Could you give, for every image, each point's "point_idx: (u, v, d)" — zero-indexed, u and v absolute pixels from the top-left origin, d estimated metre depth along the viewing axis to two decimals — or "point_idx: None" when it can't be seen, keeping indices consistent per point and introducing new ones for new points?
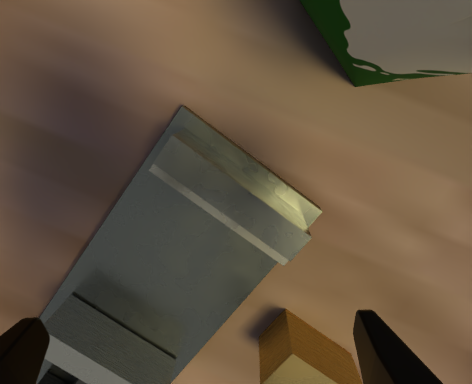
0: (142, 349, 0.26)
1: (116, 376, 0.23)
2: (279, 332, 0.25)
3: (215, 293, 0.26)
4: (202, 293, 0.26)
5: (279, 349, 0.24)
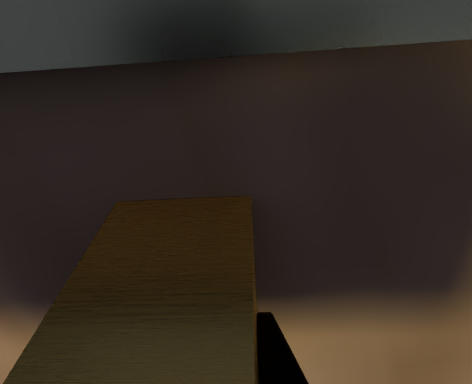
0: None
1: None
2: (204, 250, 0.07)
3: None
4: None
5: (183, 310, 0.06)
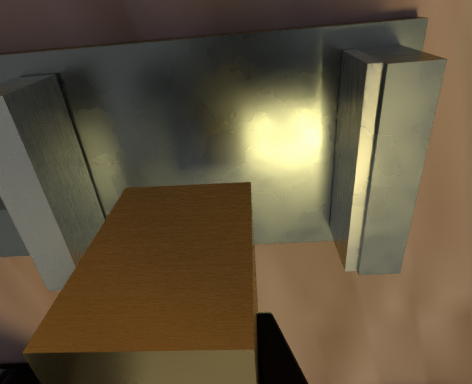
0: (91, 208, 0.19)
1: (56, 228, 0.15)
2: (208, 228, 0.07)
3: None
4: None
5: (189, 278, 0.06)
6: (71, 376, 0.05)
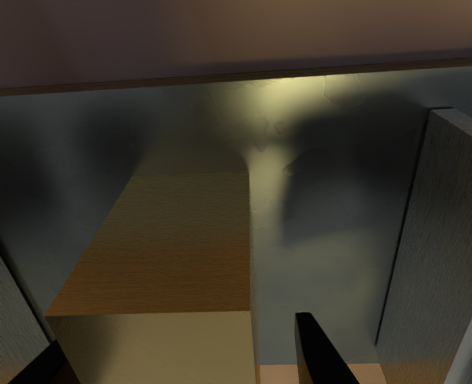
0: (17, 330, 0.12)
1: None
2: (208, 211, 0.08)
3: None
4: None
5: (192, 253, 0.07)
6: (87, 338, 0.06)
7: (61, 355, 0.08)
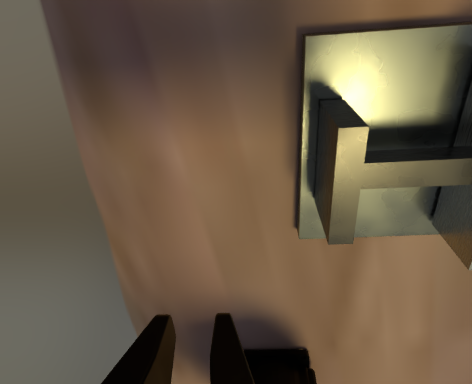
0: None
1: None
2: None
3: None
4: None
5: None
6: None
7: (149, 353, 0.08)
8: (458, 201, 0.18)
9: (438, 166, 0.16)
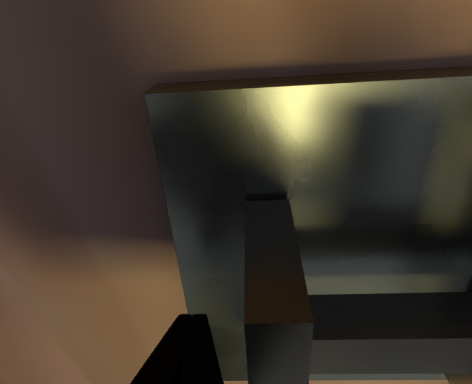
0: None
1: None
2: None
3: None
4: None
5: None
6: None
7: (176, 353, 0.08)
8: None
9: (463, 347, 0.08)
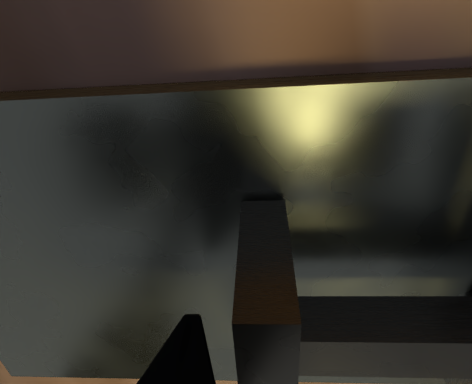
0: None
1: None
2: None
3: None
4: None
5: None
6: None
7: (182, 353, 0.08)
8: None
9: (459, 352, 0.08)
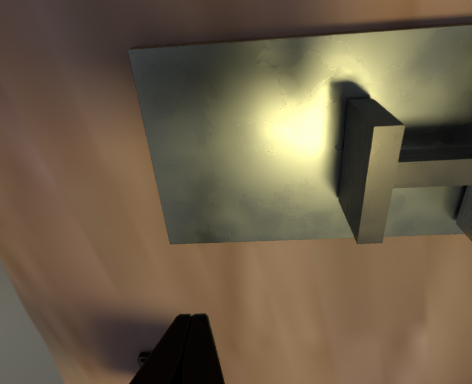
0: None
1: None
2: None
3: (442, 207, 0.20)
4: (434, 197, 0.20)
5: None
6: None
7: (176, 353, 0.08)
8: None
9: (469, 165, 0.16)
